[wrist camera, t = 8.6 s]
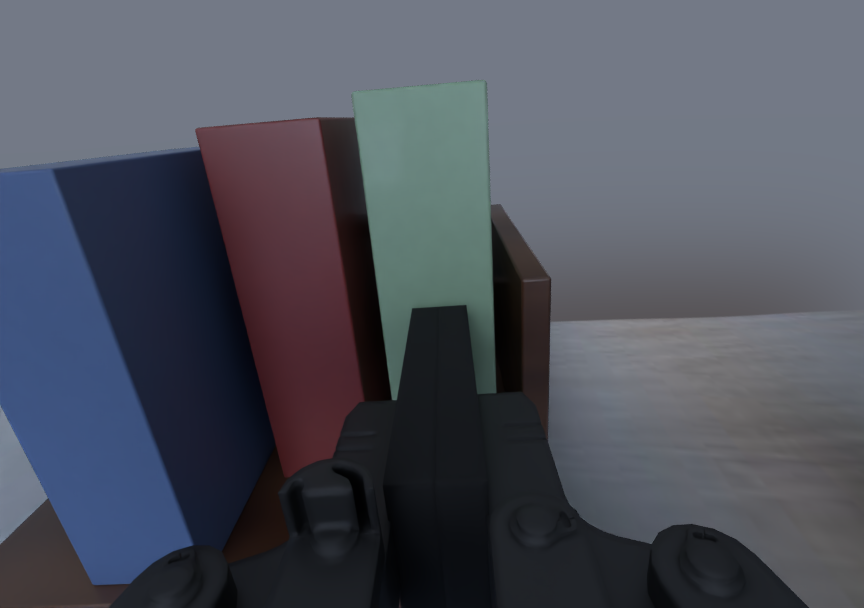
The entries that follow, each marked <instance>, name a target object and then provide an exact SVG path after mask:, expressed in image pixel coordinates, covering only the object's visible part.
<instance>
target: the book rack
mask: <svg viewBox="0 0 864 608" xmlns="http://www.w3.org/2000/svg"><path fill="white" fill-rule="evenodd" d="M491 230H492V262H493V294H494V326H495V358H496V391H497V393H505V392H523V393H524V394H525V395H526V396H527V397H528V398H529V399H530V400H531V401H532V402H533V403H534V404H535V405H536V407H537V410H538V413H539V417H540V420H541V425H542V426H543V429H544V432H545V435H546V440H547V442H548V416H549V364H550V312H551V278H550V276H549V275H548V273H547V272H546V270H545V269H544V267H543V266H542V265H541V263H540V261H539V260H538V259H537V257H536V256H535V254H534V253H533V251H532V250H531V248H530V247H529V245H528V244H527V242H526V241H525V239H524V238H523V237H522V235H521V234H520V232H519V231H518V229H517V228H516V226H515V225H514V223H513V222H512V221H511V219H510V217H509V216H508V215H507V213H506V212H505V210H504V209H503V207H502V206H501V205H500V204H497V205H491ZM390 400H392V397H391V395H390ZM288 478H289V477H284V475H283V471H282V467H281V463H280V459H279V455H278V451H277V447H276V446H275V448H274V450H273V452H272V454H271V456H270V457H269V459H268V461H267V463H266V465H265V467H264V469H263V471H262V473H261V475H260V477H259V479H258V481H257V483H256V485H255V487H254V489H253V491H252V493H251V495H250V497H249V499H248V501H247V503H246V505H245V507H244V509H243V511H242V513H241V515H240V517H239V519H238V521H237V523H236V524H235V526H234V528H233V530H232V532H231V534H230V536H229V538H228V540H227V542H226V544H225V546H224V548H223V550H222V553H223V555H224V557H225V558H226V560H227V562H228V563H231V562H234V561H237V560H240V559H244V558H247V557H250V556H253V555H256V554H259V553H262V552H265V551H268V550H270V549H273V548H275V547H277V546H280V545H281V544H283V543H284V542H286V541H288V540H289V533H288V529H287V526H286V522H285V518H284V515H283V511H282V507H281V503H280V500H279V496H278V492H279V490H280V489H281V487H282V486H283V485H284V483H285V482H286V480H287V479H288ZM129 585H130V584H112V585H93V584H92V582H91V580H90V578H89V576H88V574H87V572H86V571H85V569H84V567H83V565H82V563H81V561H80V559H79V557H78V555H77V553H76V551H75V549H74V547H73V545H72V543H71V541H70V539H69V537H68V535H67V534H66V532H65V530H64V528H63V526H62V524H61V522H60V520H59V518H58V516H57V514H56V512H55V510H54V508H53V506H52V504H51V502H50V500H49V499H47V500H46V501H45V502H44V503H43V504H42V505H41V506H40V507H39V508H38V509H37V510H36V511H35V512H34V513H32V514H31V515H30V516H29V517H28V518H27V519H26V520H25V521H24V522H23V523H22V524H21V525H20V526H19V527H18V528H17V529H16V530H15V531H14V532H13V533H12V534H11V535H10V536H9V537H8V538H7V539H6V540H5V541H3V542H2V543H1V544H0V608H109V607H110V605H111V604H112V603H113V602H114V601H115V600H116V599H117V598H118V597H119V596H120V594H121V593H122V592H123V591H124V590H125V589H126V588H127V587H128V586H129ZM399 608H401V602H400V601H399Z"/></svg>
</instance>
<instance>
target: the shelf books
mask: <svg viewBox="0 0 864 608" xmlns="http://www.w3.org/2000/svg"><path fill="white" fill-rule="evenodd" d="M196 135H197V139H198V143H199V147H200V151H201V155H202V159H203V163H204V166H205V170H206V174H207V178H208V182H209V186H210V190H211V194H212V198H213V202H214V205H215V209H216V213H217V217H218V221H219V225H220V229H221V233H222V237H223V241H224V245H225V248H226V252H227V256H228V260H229V264H230V268H231V272H232V276H233V280H234V284H235V287H236V291H237V295H238V299H239V303H240V307H241V311H242V315H243V319H244V323H245V326H246V330H247V334H248V338H249V342H250V346H251V350H252V354H253V358H254V362H255V365H256V369H257V373H258V377H259V381H260V385H261V389H262V393H263V397H264V401H265V405H266V408H267V412H268V416H269V420H270V424H271V428H272V432H273V436H274V440H275V444H276V447H277V451H278V455H279V459H280V463H281V467H282V471H283V475H284V477H291V476H292V475H293V474H294V473H296V472H297V471H298V470H300V469H301V468H303V467H305V466H307V465H309V464H312V463H314V462H316V461H319V460H324V459H330V458H332V457H333V454H334V452H335V451H336V445H337V442H338V439H339V437H340V433H341V430H342V427H343V424H344V421H345V418H346V416H347V415H348V414H349V413H350V412H351V411H352V410H353V409H354V408H355V407H356V405H357V404H358V403H359V402H369V401H387V400H390V395H391V390H390V382H389V375H388V367H387V360H386V352H385V345H384V337H383V330H382V322H381V315H380V307H379V299H378V292H377V284H376V277H375V269H374V262H373V254H372V247H371V239H370V232H369V224H368V217H367V209H366V201H365V194H364V186H363V179H362V171H361V164H360V156H359V149H358V141H357V134H356V126H355V118H327V117H326V118H321V117H317V118H305V119H294V120H283V121H271V122H260V123H249V124H237V125H225V126H214V127H202V128H197V129H196Z"/></svg>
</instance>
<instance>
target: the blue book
mask: <svg viewBox="0 0 864 608" xmlns="http://www.w3.org/2000/svg"><path fill="white" fill-rule="evenodd" d="M0 405H1V407H2V409H3V411H4V413H5V415H6V417H7V419H8V421H9V423H10V425H11V427H12V429H13V430H14V432H15V434H16V436H17V438H18V440H19V442H20V444H21V446H22V448H23V450H24V452H25V454H26V456H27V458H28V460H29V462H30V464H31V465H32V467H33V469H34V471H35V473H36V475H37V477H38V479H39V481H40V483H41V485H42V487H43V489H44V491H45V493H46V495H47V497H48V499H49V500H50V502H51V504H52V506H53V508H54V510H55V512H56V514H57V516H58V518H59V520H60V522H61V524H62V526H63V528H64V530H65V532H66V534H67V535H68V537H69V539H70V541H71V543H72V545H73V547H74V549H75V551H76V553H77V555H78V557H79V559H80V561H81V563H82V565H83V567H84V569H85V571H86V572H87V574H88V576H89V578H90V580H91V582H92V584H93V585H112V584H130V583H131V582H132V581H133V580H134V579H135V578H136V577H137V576H139V575H140V574H141V573H142V572H143V571H144V570H145V569H146V568H148V567H149V566H150V565H151V564H152V563H153V562H155V561H157V560H159V559H160V558H162V557H164V556H166V555H167V554H169V553H171V552H173V551H176V550H179V549H182V548H186V547H189V546H192V545H210V546H212V547H214V548H216V549H218V550H220V551H222V550H223V548H224V546H225V544H226V542H227V540H228V538H229V536H230V534H231V532H232V530H233V528H234V526H235V524H236V523H237V521H238V519H239V517H240V515H241V513H242V511H243V509H244V507H245V505H246V503H247V501H248V499H249V497H250V495H251V493H252V491H253V489H254V487H255V485H256V483H257V481H258V479H259V477H260V475H261V473H262V471H263V469H264V467H265V465H266V463H267V461H268V459H269V457H270V456H271V454H272V452H273V450H274V448H275V446H276V444H275V440H274V436H273V432H272V428H271V424H270V420H269V416H268V412H267V408H266V405H265V401H264V397H263V393H262V389H261V385H260V381H259V377H258V373H257V369H256V365H255V362H254V358H253V354H252V350H251V346H250V342H249V338H248V334H247V330H246V326H245V323H244V319H243V315H242V311H241V307H240V303H239V299H238V295H237V291H236V287H235V284H234V280H233V276H232V272H231V268H230V264H229V260H228V256H227V252H226V248H225V245H224V241H223V237H222V233H221V229H220V225H219V221H218V217H217V213H216V209H215V205H214V202H213V198H212V194H211V190H210V186H209V182H208V178H207V174H206V170H205V166H204V163H203V159H202V155H201V151H200V147H192V148H180V149H169V150H161V151H152V152H143V153H134V154H126V155H117V156H108V157H100V158H91V159H82V160H74V161H65V162H56V163H48V164H39V165H30V166H22V167H13V168H4V169H0Z"/></svg>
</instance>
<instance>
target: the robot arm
mask: <svg viewBox="0 0 864 608" xmlns="http://www.w3.org/2000/svg"><path fill="white" fill-rule="evenodd" d="M278 496H279V500H280V503H281V507H282V511H283V515H284V518H285V522H286V526H287V529H288V533H289V540H288V541H286V542H284V543H283V544H281V545H280V546H277V547H275V548H273V549H270V550H268V551H265V552H262V553H259V554H256V555H253V556H250V557H247V558H244V559H240V560H237V561H234V562H231V563H228V562H227V560H226V558H225V557H224V555H223V553H222V551H220V550H218V549H216V548H214V547H212V546H210V545H192V546H189V547H186V548H182V549H179V550H176V551H173V552H171V553H169V554H167V555H166V556H164V557H162V558H160V559H159V560H157V561H155V562H153V563H152V564H151V565H150V566H149V567H148V568H146V569H145V570H144V571H143V572H142V573H141V574H140V575H139V576H137V577H136V578H135V579H134V580H133V581H132V582H131V583H130V585H129V586H128V587H127V588H126V589H125V590H124V591H123V592H122V593H121V594H120V596H119V597H118V598H117V599H116V600H115V601H114V602H113V603H112V604H111V605H110V607H109V608H399V601H400V602H401V608H809V607H808V606H807V605H806V604H805V603H804V602H803V601H802V600H801V599H800V598H799V597H798V596H797V595H796V594H795V593H794V592H793V591H792V590H791V589H790V588H789V587H788V586H787V585H786V584H785V583H784V582H783V581H782V580H781V579H780V578H779V577H778V576H777V575H776V574H775V573H774V572H773V571H772V570H771V569H770V568H769V567H768V566H767V565H766V564H764V563H763V562H762V561H761V560H760V559H759V558H758V557H757V556H756V555H755V554H754V553H753V552H751V551H750V550H749V549H748V548H746V547H745V546H744V545H743V544H741V543H740V542H739V541H737V540H736V539H734V538H732V537H730V536H728V535H726V534H724V533H721V532H719V531H717V530H715V529H712V528H708V527H703V526H698V525H694V524H685V525H673V526H671V527H669V528H667V529H665V530H663V531H661V532H659V533H658V535H657V536H656V538H655V540H654V541H653V543H652V544H648V543H644V542H640V541H636V540H631V539H627V538H623V537H619V536H615V535H612V534H609V533H606V532H603V531H601V530H599V529H597V528H596V527H594V526H592V525H590V524H588V523H587V522H586V521H585V520H583V519H582V518H581V517H580V516H579V514H578V513H577V511H576V510H575V509H573V508H572V507H571V506H570V505H569V503H568V501H567V499H566V497H565V495H564V492H563V488H562V485H561V482H560V479H559V476H558V473H557V470H556V467H555V463H554V460H553V457H552V454H551V451H550V448H549V445H548V442H547V440H546V435H545V432H544V429H543V426H542V425H541V420H540V417H539V413H538V410H537V407H536V405H535V404H534V403H533V402H532V401H531V400H530V399H529V398H528V397H527V396H526V395H525V394H524V393H523V392H505V393H487V394H477V388H476V380H475V372H474V363H473V355H472V347H471V338H470V330H469V322H468V314H467V305H457V306H441V307H425V308H412V312H411V318H410V324H409V330H408V336H407V342H406V348H405V354H404V360H403V366H402V372H401V378H400V384H399V390H398V396H397V400H387V401H369V402H359V403H358V404H357V405H356V407H355V408H354V409H353V410H352V411H351V412H350V413H349V414H348V415H347V416H346V418H345V421H344V424H343V427H342V430H341V433H340V437H339V439H338V442H337V445H336V451H335V452H334V454H333V457H332V458H330V459H324V460H319V461H316V462H314V463H312V464H309V465H307V466H305V467H303V468H301V469H300V470H298V471H297V472H296V473H294V474H293V475H292V476H291V477H289V478H288V479H287V480H286V482H285V483H284V485H283V486H282V487H281V489H280V490H279V492H278Z"/></svg>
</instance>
